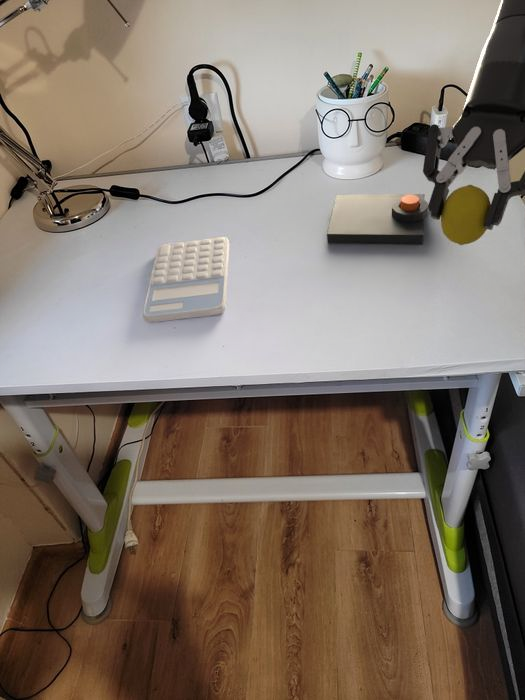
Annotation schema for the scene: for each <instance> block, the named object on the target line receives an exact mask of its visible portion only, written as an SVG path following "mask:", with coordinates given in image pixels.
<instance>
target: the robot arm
mask: <svg viewBox="0 0 525 700" xmlns="http://www.w3.org/2000/svg"><path fill="white" fill-rule="evenodd" d="M451 139H453V140H454V144H455V146H456V149H455V150H454V151H453V152H452V153H451V155H450V156H449V157H448V159H447V162H446V163H445V165H444V166H443V167H442V169H441V170H439V165H440V157H441V151H442V148H445V147H446V146H447V144H448V142H449V140H451ZM524 149H525V0H500V3H499V6H498V8H497V12H496V15H495V18H494V20H493V25H492V27H491V30H490V33H489V35H488V37H487V39H486V41H485V43H484V46H483V48H482V50H481V53H480V57H479V60H478V63H477V66H476V69H475V72H474V75H473V79H472V82H471V84H470V88H469V91H468V94H467V97H466V100H465V103H464V105H463V108H462V112H461V115H460V117H459V119H458V120H457V121H456V122H455V123H454V124H453V126H446V127H439V125H438V124H435V123H434V124H431V125H430V126H429V127H428V130H427V136H426V146H425V153H424V158H423V166H422V167H423V168H422V172H423V175H424V176H425V178H426V179H427V181H428V182H430V183H433V184H434V186H433V189H432V192H431V197H430V198H429V202H428V209H427V211H428V212H429V213H430V217H431V218H432V219H433V220H437V221H440V220H441V214H442V209H443V206H444V204H445V201H446V200H447V198H448V197H449V193H450V189H449V188H450V186H451V185H452V184H453V182H454V181H455V180H456V179H457V177H458V176H460V175H461V174H463V172H464V170H465V169H467V168H468V167H473V168H477V167H482V168H483V167H484V168H485V169H487V170H495V171H496V175H497V184H498V189H497V192H494V194H493V197H492V199H491V202H490V204H491V205H490V208H489V211H488V214H487V217H486V220H485V224H484V227H485V229H487V230H489V231H492V230H493V229H494V226H497V227H498V226H499V225H500V224H501V222H502V220H503V218H504V214H505V212H506V209H507V207H508V203H509V201H510V199H511V198H513V197H516V196H517V197H518V196H522V197H525V171H524V172H523V174H522V175H521V177H520V179H519V180H515V181H512V178H511V168H510V161H511V160H512V159H513V158H514V157H515V156H517V155H518V154H519V153H520V152H521V151H523V150H524Z"/></svg>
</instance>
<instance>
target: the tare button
mask: <svg viewBox="0 0 525 700" xmlns="http://www.w3.org/2000/svg"><path fill="white" fill-rule="evenodd" d="M418 208H419V197H418V196H416V195H405V196H403V197H402V198H401V209H402V210H405V211H414V210H417V209H418Z"/></svg>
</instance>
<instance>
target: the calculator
mask: <svg viewBox="0 0 525 700" xmlns="http://www.w3.org/2000/svg"><path fill="white" fill-rule="evenodd" d="M229 258H230V241H229V239H228V237H226V236H218V237H209V238H202V239H193V240H186V241H178V242H177V241H176V242H170V243H164V244H160V245H159V246H157V248H156V253H155V257H154V261H153V266H152V270H151V274H150V279H149V283H148V287H147V292H146V295H145V300H144V304H143V308H142V317H143V319H144V321H145V322H147V323H157V322H166V321H174V320H183V319H184V320H185V319H193V318H200V317H201V318H202V317H210V316H218V315H221V314H223V313H224V312H225V310H226V305H227V289H228V274H229V260H230V259H229Z"/></svg>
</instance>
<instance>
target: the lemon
mask: <svg viewBox="0 0 525 700" xmlns="http://www.w3.org/2000/svg"><path fill="white" fill-rule="evenodd" d="M490 205H491V200H490V197H489V195H488V194H487V193H486V192H485V190H484V189H482V188H480V187H479V186H476V185H473V184H467V185H463V186H460V187H458V188H456V189H455V190H453V191H452V192H451V193H450V194H448V196H447V199H446V201H445V204H444V206H443V209H442V214H441V217H440V227H441V229H442V230H441V231H442V233H443V235H444V236H445V237H446V239H448V240H449V241H450V242H452V243H454V244H457V245H458V246H464V245H468V244H472V243H475V242H476V241H478V240H479V239H481V238H482V237H483V235H484V234H485V233H486V231H487V230H488V229H485V227H484V224H485V220H486V217H487V214H488V211H489V208H490Z"/></svg>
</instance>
